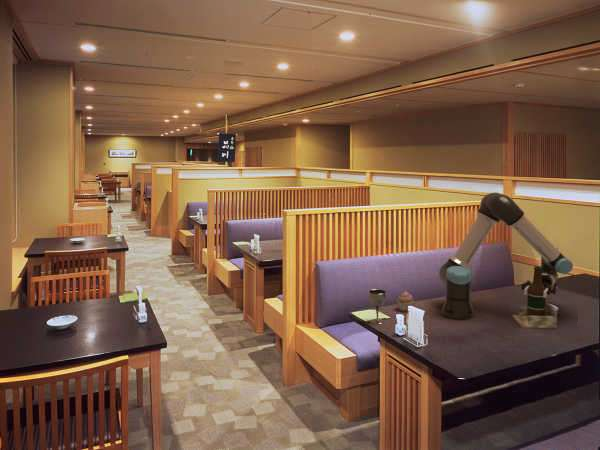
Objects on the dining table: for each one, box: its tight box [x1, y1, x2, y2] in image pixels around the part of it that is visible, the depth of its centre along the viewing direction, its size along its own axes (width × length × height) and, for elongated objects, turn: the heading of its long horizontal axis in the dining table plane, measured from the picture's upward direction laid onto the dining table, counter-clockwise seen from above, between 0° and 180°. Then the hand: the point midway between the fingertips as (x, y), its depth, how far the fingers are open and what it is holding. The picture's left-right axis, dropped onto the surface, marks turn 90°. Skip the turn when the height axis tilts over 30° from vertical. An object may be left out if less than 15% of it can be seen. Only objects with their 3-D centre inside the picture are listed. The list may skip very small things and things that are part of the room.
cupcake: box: [396, 290, 416, 313], centre depth 245 cm, size 9×9×10 cm
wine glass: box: [368, 288, 387, 325], centre depth 229 cm, size 8×8×15 cm
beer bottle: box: [526, 265, 547, 316], centre depth 221 cm, size 8×8×24 cm
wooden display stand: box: [512, 301, 558, 329], centre depth 223 cm, size 15×14×8 cm
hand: (534, 293), depth 217 cm, fingers closed on beer bottle, 7 cm apart
